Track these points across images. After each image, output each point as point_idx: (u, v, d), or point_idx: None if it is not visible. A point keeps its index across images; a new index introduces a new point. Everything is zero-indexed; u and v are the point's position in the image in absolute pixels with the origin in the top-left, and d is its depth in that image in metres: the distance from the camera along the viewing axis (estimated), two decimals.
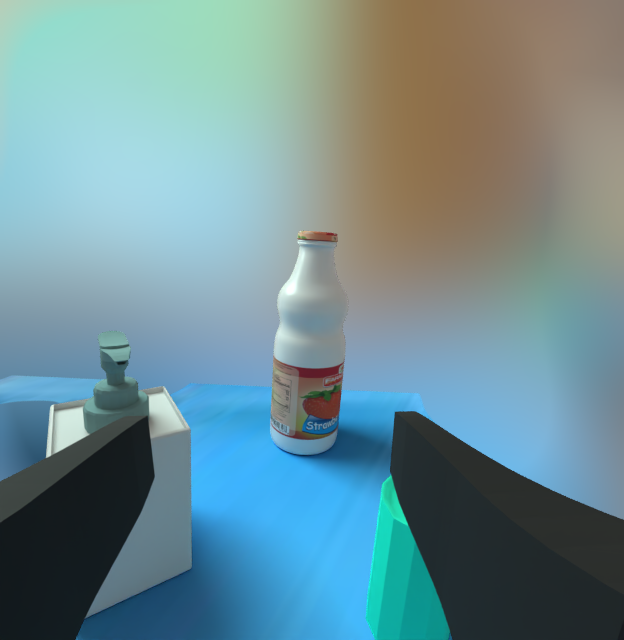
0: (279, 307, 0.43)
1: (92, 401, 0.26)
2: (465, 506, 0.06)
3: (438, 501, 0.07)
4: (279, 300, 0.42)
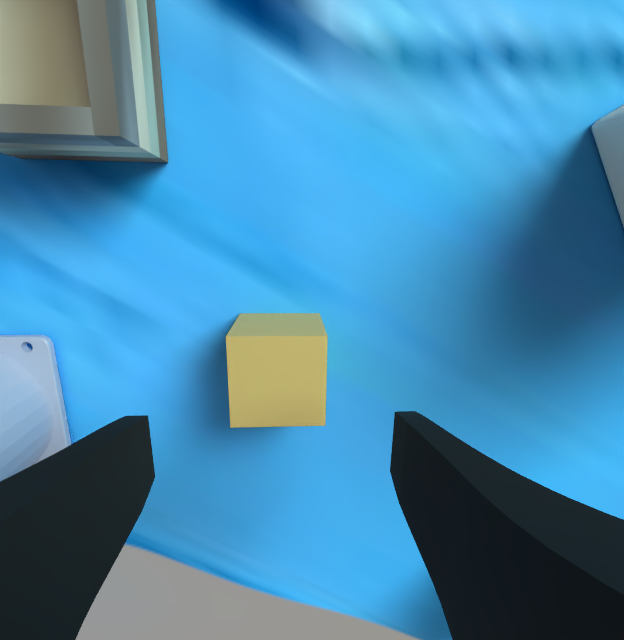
0: None
1: None
2: (465, 506, 0.06)
3: (438, 500, 0.07)
4: None
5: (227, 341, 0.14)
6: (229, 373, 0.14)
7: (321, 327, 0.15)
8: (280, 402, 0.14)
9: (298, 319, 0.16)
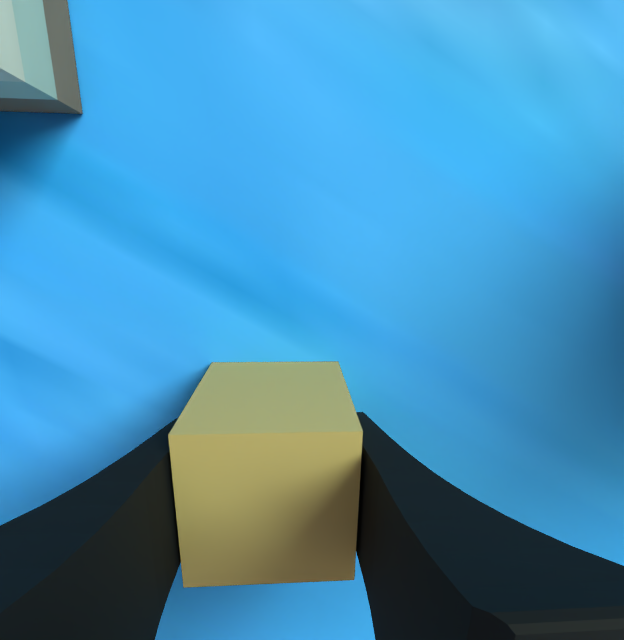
0: None
1: None
2: (383, 509, 0.06)
3: (367, 503, 0.07)
4: None
5: (171, 444, 0.07)
6: (178, 498, 0.07)
7: (347, 402, 0.08)
8: (272, 545, 0.08)
9: (305, 379, 0.10)
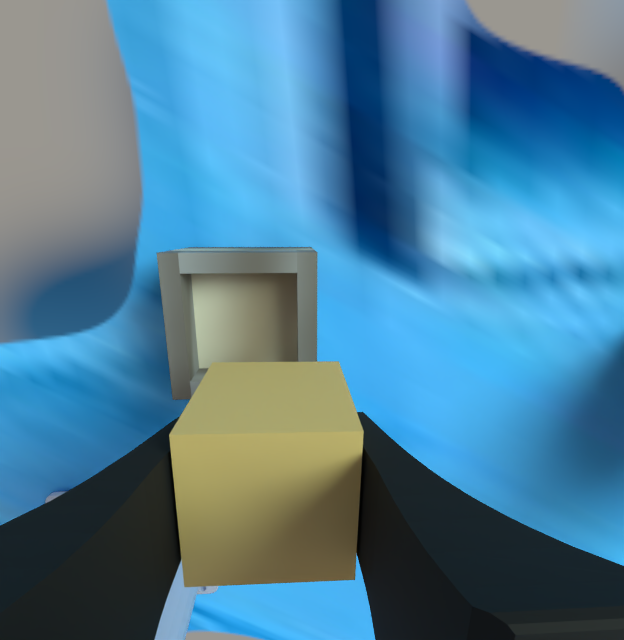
0: None
1: None
2: (383, 508, 0.06)
3: (367, 503, 0.07)
4: None
5: (172, 444, 0.07)
6: (179, 498, 0.07)
7: (347, 402, 0.09)
8: (273, 545, 0.08)
9: (306, 379, 0.10)
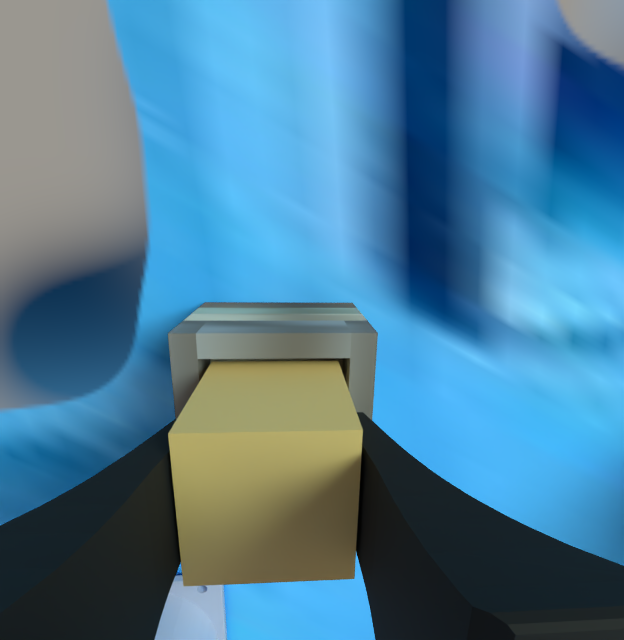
0: None
1: None
2: (383, 509, 0.06)
3: (368, 503, 0.07)
4: None
5: (171, 442, 0.07)
6: (178, 497, 0.07)
7: (347, 401, 0.08)
8: (272, 544, 0.08)
9: (305, 378, 0.10)
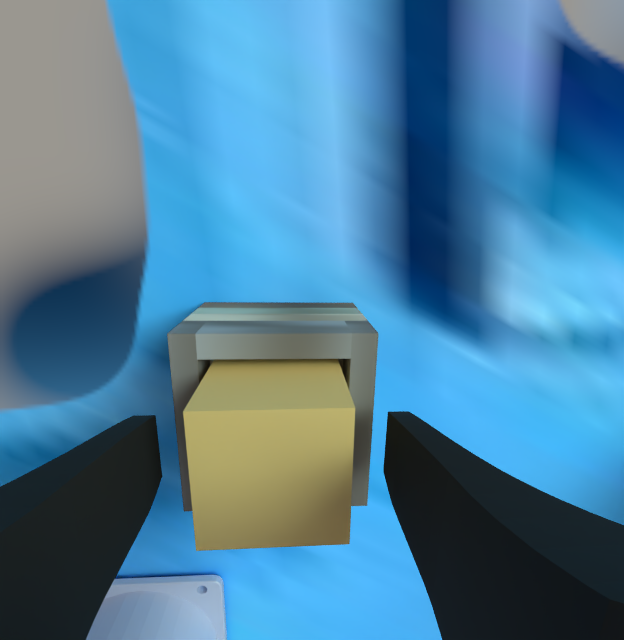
0: None
1: None
2: (454, 506, 0.06)
3: (428, 500, 0.07)
4: None
5: (186, 419, 0.08)
6: (191, 469, 0.08)
7: (342, 385, 0.09)
8: (276, 511, 0.09)
9: (304, 365, 0.11)
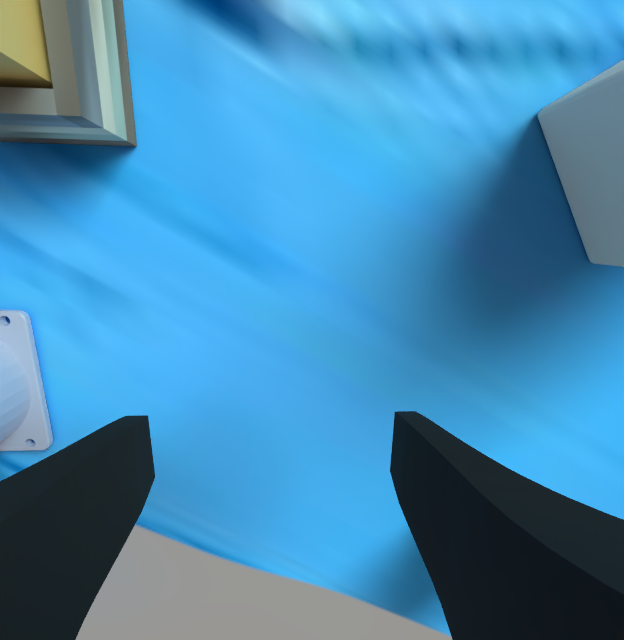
0: None
1: None
2: (465, 506, 0.06)
3: (438, 501, 0.07)
4: None
5: None
6: None
7: None
8: None
9: None
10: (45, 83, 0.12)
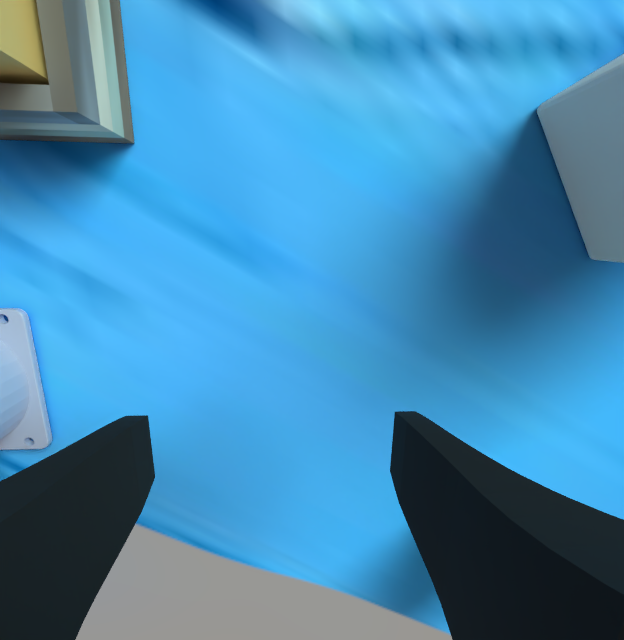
0: None
1: None
2: (465, 506, 0.06)
3: (438, 501, 0.07)
4: None
5: None
6: None
7: None
8: None
9: None
10: (41, 79, 0.12)
